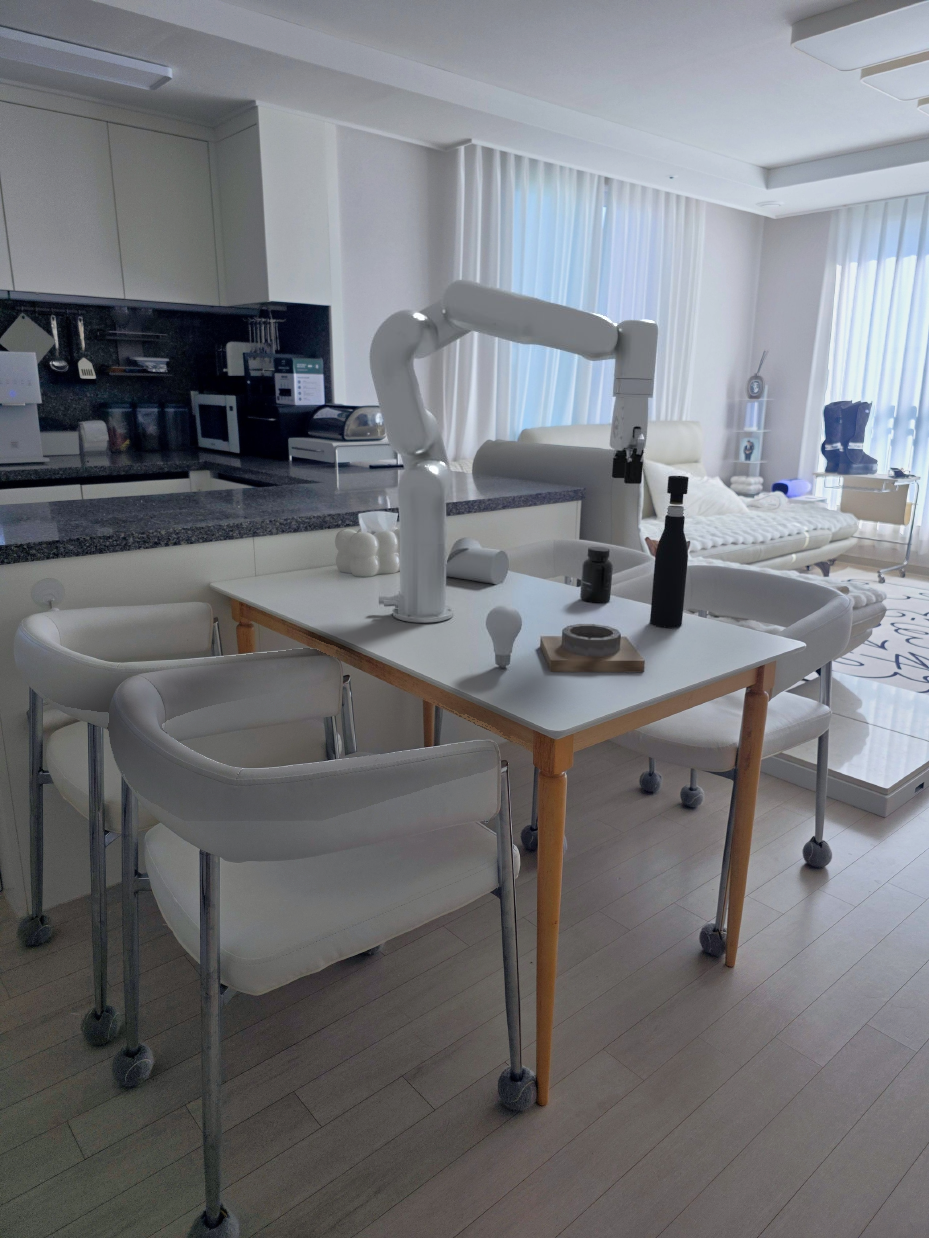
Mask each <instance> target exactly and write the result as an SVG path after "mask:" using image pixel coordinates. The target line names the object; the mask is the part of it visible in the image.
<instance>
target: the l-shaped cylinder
mask: <svg viewBox="0 0 929 1238" xmlns="http://www.w3.org/2000/svg"><path fill="white" fill-rule="evenodd" d="M509 563H510V561H509V557H508V554H507V552H506V551H505V550H503V549H502V550H500V549H495V548H488V547H487V548H486V547H482V545H481V544H480V542H479V541H477V540H476V539H474V538H472V537H462V538H459V539H458V540H456V541H455V542H454V544H453V545H452V547H451V549H450V552H449V555H448V557H447V558H446V577H447V578H448V577H449V578H455V579H461V580H466V581H467V580H468V581H473V582H478V583H479V582H480V583H485V584H492V585H496V584H497V585H500V584H502V583H503V582H504V581H505V579H507V575H508V571H509V567H510V566H509Z"/></svg>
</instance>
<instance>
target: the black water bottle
mask: <svg viewBox="0 0 929 1238" xmlns="http://www.w3.org/2000/svg"><path fill="white" fill-rule="evenodd" d="M689 480H690V479H689V477H688V476H686V475H685V476H683V475H668V478H667V489H666V493H667V494H670V497H669V502H668V503H669V504H670V505H668V506H667V508H666V510H667V511H666V513H667V514H665V517H664V526H663V527H664V529H663V531H662V533H661V536H660V538H659V540H658V542H657V543H658V544H657V547H656V549H655V550H656V551H655V555H654V567H653V568H654V569H653V579H652V580H653V581H652V590H651V591H652V592H651V604H650V616H649V617H650V618H649V623H650V624H651V625H653V626H655V627H659V628H665V629H674V628H679V627H681V626H682V625H683V616H684V604H685V592H686V583H687V582H686V581H687V573H688V572H687V571H688V562H689V549H688V543H687V539H686V537H687V536H686V534H685V520H686V519H685V518H686V517H685V515H684V514H685V513H684V511H685V509H684V508H685V507H684V506H683V504H684V495H687V494H688V491H689V489H688V487H689Z"/></svg>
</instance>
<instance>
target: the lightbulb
mask: <svg viewBox="0 0 929 1238" xmlns="http://www.w3.org/2000/svg"><path fill="white" fill-rule="evenodd" d="M522 625H523V619H522V616H521V614H520V612H519V610H518V609H516V608H515V607H513V606H511V605H509V604H508V605H507V604H500V605H497V606H494V607H493V608H492V609H491V610H490V611H489V612H488V613H487V615H486V620H485V626H486V627H485V628H486V630H487V632H488V634H489V637H490V638H491V640H492V644H493V653H494V658H495V659H494V664H495V665H496V666H498V667H499V668H501V669H504V668H506V667H508V666H509V665H510V664H511V655H512V653H513V648H514V644H515V641H516V639H517V637H518V635H519V634H520V632H521V630H522Z"/></svg>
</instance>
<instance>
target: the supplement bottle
mask: <svg viewBox="0 0 929 1238" xmlns="http://www.w3.org/2000/svg"><path fill="white" fill-rule="evenodd" d="M586 556H587V557H588V558H586V559H584V561H583V562H582V567H581V577H580V579H581V580H580V582H581V583H580V592H579V593H580V594H579V599H581V601H583V602H585V603H587V604H588V603H589V604H597V605H599V604H607V603H609V602H610V600H611V595H612V593H611V592H612V581H613V571H614V565H613V562H612V561H610V560H609V558H610V548H607V547H603V546H590V547H588V549H587V555H586Z"/></svg>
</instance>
